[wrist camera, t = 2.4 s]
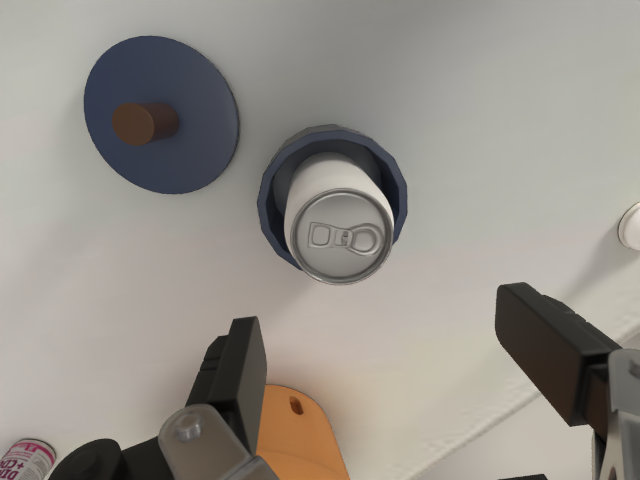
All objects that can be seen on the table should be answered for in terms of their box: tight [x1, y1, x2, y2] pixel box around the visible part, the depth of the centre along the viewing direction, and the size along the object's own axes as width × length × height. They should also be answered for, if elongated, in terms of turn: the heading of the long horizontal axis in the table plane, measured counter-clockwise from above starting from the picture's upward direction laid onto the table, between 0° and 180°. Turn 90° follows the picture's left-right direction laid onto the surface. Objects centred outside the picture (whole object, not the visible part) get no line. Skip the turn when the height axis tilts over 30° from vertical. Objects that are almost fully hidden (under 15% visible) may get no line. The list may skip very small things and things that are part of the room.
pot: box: [257, 124, 407, 271], centre depth 28 cm, size 10×10×6 cm
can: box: [284, 152, 394, 285], centre depth 25 cm, size 6×6×12 cm
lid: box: [84, 36, 239, 194], centre depth 25 cm, size 11×11×6 cm
